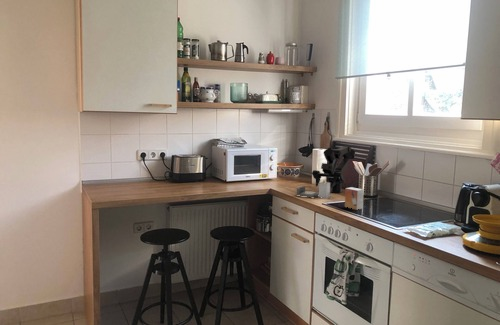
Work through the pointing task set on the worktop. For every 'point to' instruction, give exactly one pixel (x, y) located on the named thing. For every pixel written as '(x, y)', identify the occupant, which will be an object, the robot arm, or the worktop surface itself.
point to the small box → (354, 198)
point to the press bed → (306, 192)
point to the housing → (324, 189)
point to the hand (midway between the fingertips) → (323, 187)
